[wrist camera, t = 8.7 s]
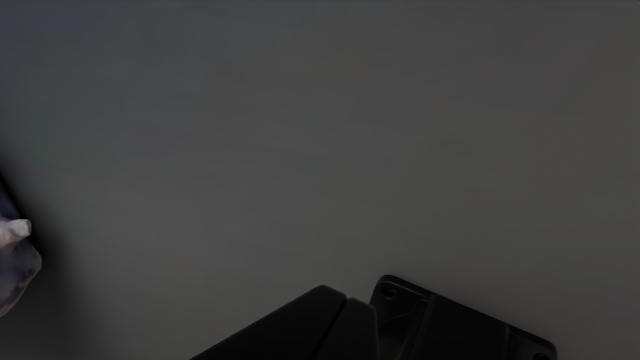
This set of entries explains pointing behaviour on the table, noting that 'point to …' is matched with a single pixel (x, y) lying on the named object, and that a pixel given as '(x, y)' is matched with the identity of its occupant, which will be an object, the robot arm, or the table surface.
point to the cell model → (14, 254)
